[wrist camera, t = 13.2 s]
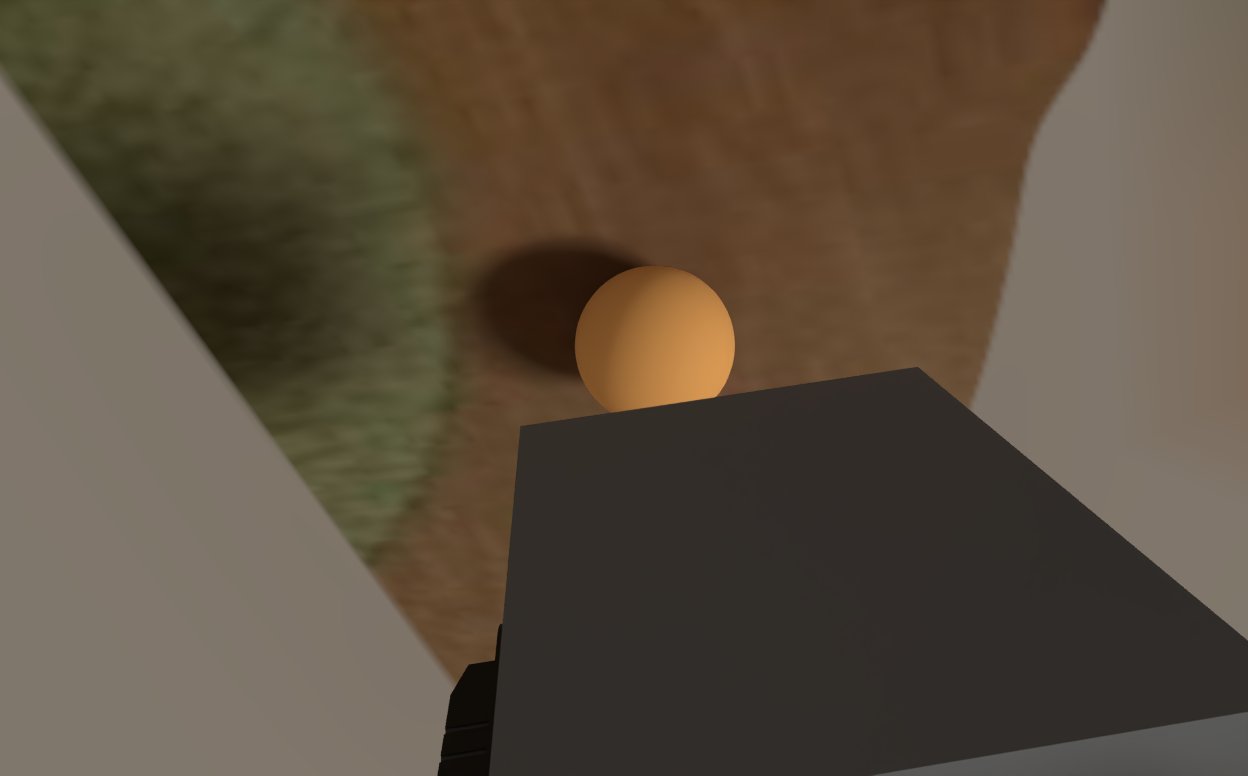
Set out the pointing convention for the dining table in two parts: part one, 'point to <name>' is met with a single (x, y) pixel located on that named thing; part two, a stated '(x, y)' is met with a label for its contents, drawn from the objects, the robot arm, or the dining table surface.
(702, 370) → the ball
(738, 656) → the matte gray cube
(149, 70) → the dining table surface
